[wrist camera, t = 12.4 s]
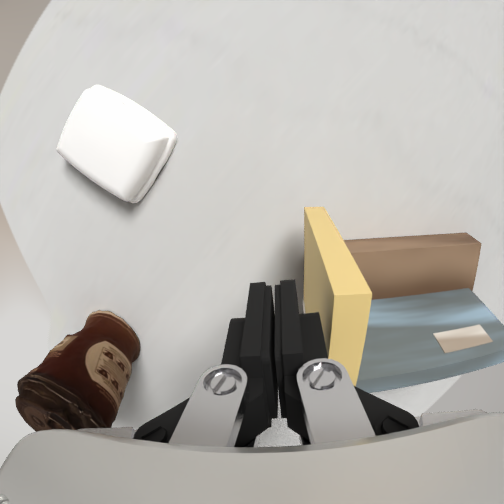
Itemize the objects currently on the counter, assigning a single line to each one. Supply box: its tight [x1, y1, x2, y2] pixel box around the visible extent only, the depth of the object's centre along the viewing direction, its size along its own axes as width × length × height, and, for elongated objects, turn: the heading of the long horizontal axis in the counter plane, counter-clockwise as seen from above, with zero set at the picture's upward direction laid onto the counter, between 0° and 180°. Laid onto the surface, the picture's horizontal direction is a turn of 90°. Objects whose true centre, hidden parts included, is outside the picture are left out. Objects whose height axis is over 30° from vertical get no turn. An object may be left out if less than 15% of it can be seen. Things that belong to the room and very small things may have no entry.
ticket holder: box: [343, 233, 504, 393], centre depth 19 cm, size 9×14×10 cm, turn 96°
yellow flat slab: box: [303, 207, 372, 386], centre depth 15 cm, size 1×7×10 cm, turn 3°
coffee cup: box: [16, 310, 140, 432], centre depth 22 cm, size 9×8×13 cm
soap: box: [56, 85, 177, 203], centre depth 20 cm, size 9×7×3 cm
